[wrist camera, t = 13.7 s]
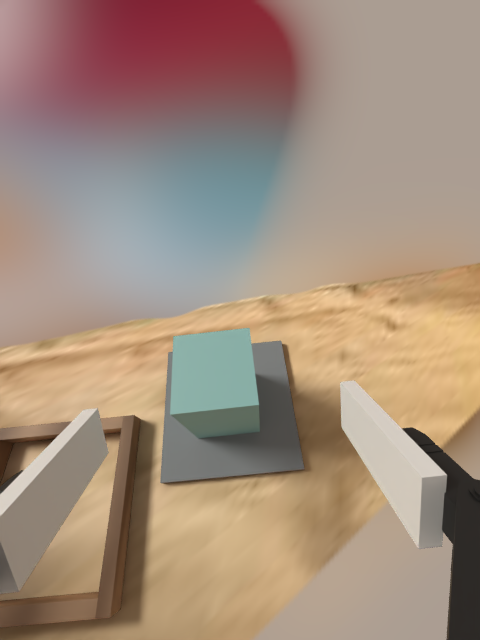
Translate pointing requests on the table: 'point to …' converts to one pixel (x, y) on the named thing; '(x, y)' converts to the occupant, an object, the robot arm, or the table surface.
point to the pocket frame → (116, 539)
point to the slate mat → (240, 449)
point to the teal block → (215, 383)
